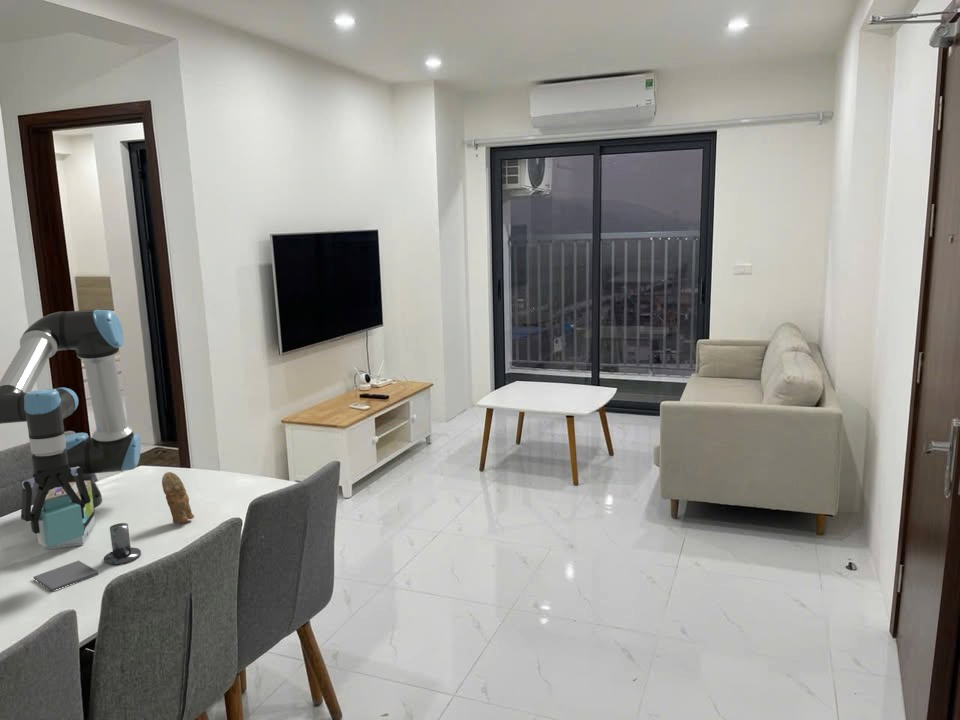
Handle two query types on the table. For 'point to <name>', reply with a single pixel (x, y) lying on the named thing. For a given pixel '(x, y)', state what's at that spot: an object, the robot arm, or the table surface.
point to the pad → (66, 575)
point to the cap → (61, 520)
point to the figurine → (176, 497)
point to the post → (121, 546)
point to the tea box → (87, 521)
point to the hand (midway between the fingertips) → (60, 537)
